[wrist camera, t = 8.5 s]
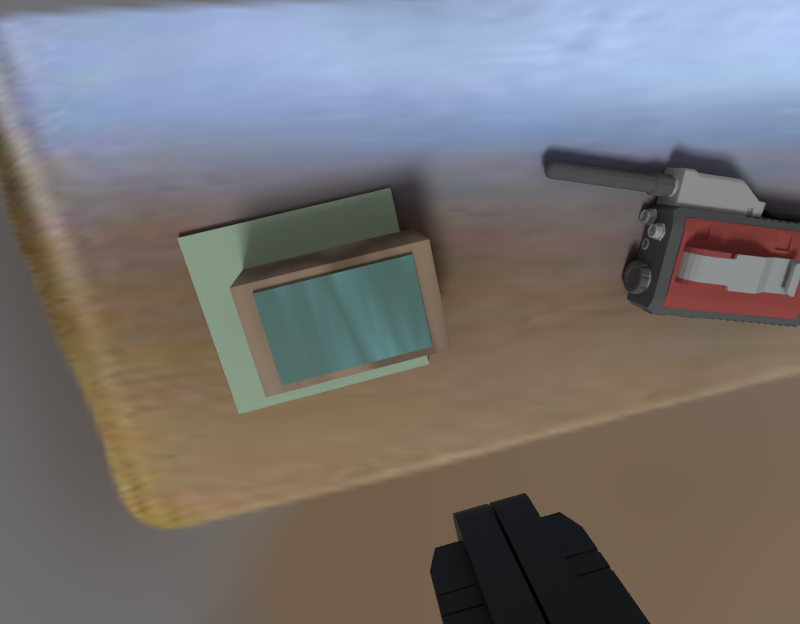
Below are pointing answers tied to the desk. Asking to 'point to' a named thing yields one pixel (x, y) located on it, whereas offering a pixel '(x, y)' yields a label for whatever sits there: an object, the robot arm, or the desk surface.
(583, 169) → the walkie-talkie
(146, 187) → the desk surface
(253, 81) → the desk surface
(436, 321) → the brown teal box
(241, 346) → the mat
